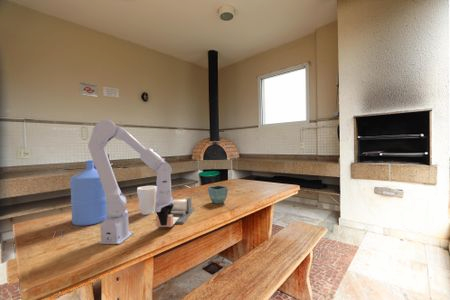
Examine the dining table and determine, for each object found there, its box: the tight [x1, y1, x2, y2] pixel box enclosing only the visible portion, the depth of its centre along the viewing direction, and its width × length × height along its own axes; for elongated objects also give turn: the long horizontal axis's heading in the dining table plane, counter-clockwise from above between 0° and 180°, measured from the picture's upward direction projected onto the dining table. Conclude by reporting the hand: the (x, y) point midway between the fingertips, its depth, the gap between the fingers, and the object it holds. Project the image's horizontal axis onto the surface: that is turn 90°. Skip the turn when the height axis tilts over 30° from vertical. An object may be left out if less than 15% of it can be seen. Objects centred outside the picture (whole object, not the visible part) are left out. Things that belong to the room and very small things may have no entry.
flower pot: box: [207, 185, 229, 205], centre depth 122 cm, size 9×9×9 cm
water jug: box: [69, 159, 107, 227], centre depth 97 cm, size 16×16×28 cm
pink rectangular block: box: [156, 214, 179, 228], centre depth 89 cm, size 10×6×4 cm, turn 174°
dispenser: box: [171, 196, 195, 225], centre depth 101 cm, size 20×12×8 cm, turn 174°
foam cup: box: [136, 185, 157, 216], centre depth 106 cm, size 10×9×13 cm
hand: (165, 223), depth 85 cm, fingers closed on pink rectangular block, 2 cm apart
